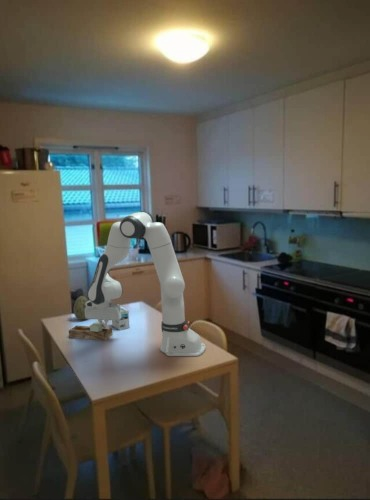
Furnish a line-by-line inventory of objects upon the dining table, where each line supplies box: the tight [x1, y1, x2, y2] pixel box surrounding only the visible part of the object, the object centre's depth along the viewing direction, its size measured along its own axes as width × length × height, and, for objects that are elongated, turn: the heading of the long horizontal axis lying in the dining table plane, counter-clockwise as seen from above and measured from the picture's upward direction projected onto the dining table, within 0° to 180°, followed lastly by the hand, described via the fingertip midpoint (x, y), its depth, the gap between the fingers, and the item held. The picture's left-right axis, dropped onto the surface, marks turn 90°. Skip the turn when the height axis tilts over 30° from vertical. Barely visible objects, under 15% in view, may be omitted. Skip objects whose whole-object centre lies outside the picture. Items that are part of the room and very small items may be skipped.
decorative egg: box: [72, 295, 89, 321], centre depth 238 cm, size 11×11×15 cm
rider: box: [89, 321, 105, 332], centre depth 209 cm, size 5×7×5 cm
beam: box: [68, 324, 113, 341], centre depth 210 cm, size 22×8×4 cm, turn 75°
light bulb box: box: [111, 305, 130, 331], centre depth 224 cm, size 11×7×11 cm, turn 34°
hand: (103, 327), depth 208 cm, fingers closed
